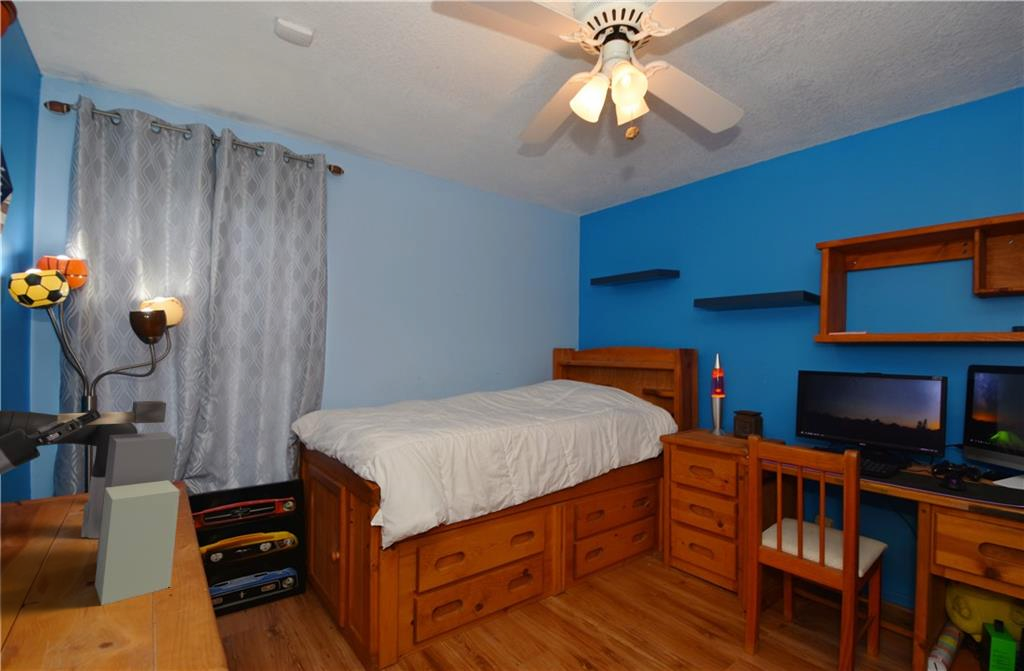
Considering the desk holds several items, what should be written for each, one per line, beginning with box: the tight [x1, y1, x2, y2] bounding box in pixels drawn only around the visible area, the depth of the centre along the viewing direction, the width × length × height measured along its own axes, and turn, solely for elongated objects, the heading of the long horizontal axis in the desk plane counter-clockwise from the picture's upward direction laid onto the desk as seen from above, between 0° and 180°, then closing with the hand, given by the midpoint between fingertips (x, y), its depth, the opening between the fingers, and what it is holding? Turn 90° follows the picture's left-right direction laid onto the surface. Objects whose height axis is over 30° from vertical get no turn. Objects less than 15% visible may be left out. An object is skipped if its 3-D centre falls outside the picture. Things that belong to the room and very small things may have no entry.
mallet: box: [56, 400, 167, 425], centre depth 115 cm, size 20×6×5 cm, turn 137°
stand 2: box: [94, 480, 181, 606], centre depth 107 cm, size 12×12×22 cm
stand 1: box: [95, 431, 177, 564], centre depth 118 cm, size 12×12×32 cm
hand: (97, 412), depth 113 cm, fingers closed on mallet, 3 cm apart
